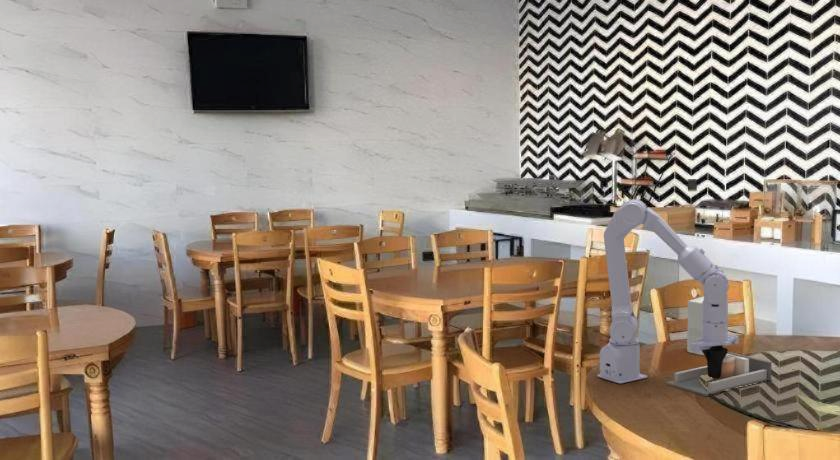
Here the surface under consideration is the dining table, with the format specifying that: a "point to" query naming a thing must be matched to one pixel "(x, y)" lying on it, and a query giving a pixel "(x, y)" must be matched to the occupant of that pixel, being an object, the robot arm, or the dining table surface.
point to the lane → (690, 379)
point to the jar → (727, 367)
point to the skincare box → (694, 322)
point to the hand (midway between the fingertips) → (714, 377)
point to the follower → (741, 365)
